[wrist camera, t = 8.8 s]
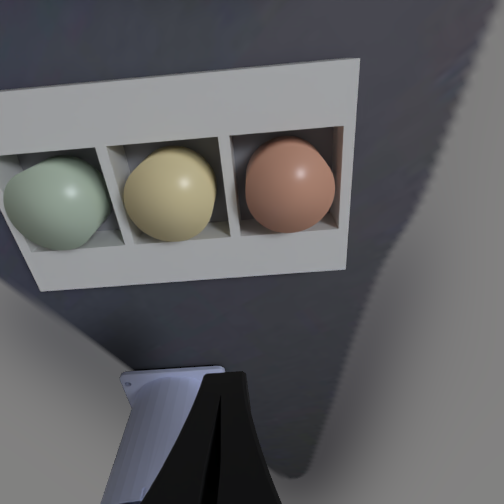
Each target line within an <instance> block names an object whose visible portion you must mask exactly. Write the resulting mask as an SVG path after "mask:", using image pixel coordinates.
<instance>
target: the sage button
mask: <svg viewBox="0 0 504 504" xmlns="http://www.w3.org/2000/svg"><path fill="white" fill-rule="evenodd" d="M3 202H4V208H5V211H6V214H7V216H8V218H9V220H10V221H11V223H12V224H13V226H14V227H15V228H16V229H17V230H18V231H19V232H20V233H21V234H22V235H23V236H25V237H26V238H27V239H29V240H30V241H32V242H34V243H35V244H37V245H40V246H42V247H45V248H48V249H53V250H71V249H75V248H77V247H80V246H81V245H83V244H84V243H85V242H87V241H88V240H89V238H90V237H91V236H92V235H93V234H94V233H95V231H96V230H97V229H98V228H99V227H100V226H101V225H102V223H103V222H104V221H105V220H106V219H107V218H108V216H109V214H110V212H111V210H112V205H113V204H112V201H111V198H110V194H109V191H108V188H107V185H106V181H105V178H104V176H103V175H102V174H101V173H100V172H99V171H98V170H97V169H96V168H95V167H94V166H92V165H91V164H89V163H88V162H86V161H84V160H82V159H79V158H77V157H73V156H67V155H58V156H53V157H50V158H48V159H46V160H44V161H42V162H40V163H38V164H36V165H34V166H32V167H30V168H28V169H26V170H24V171H22V172H20V173H18V174H16V175H15V176H14V177H12V178H11V179H10V181H9V182H8V183H7V185H6V187H5V190H4V194H3Z"/></svg>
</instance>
